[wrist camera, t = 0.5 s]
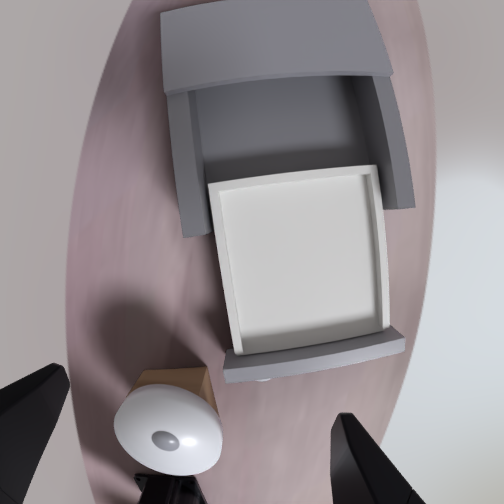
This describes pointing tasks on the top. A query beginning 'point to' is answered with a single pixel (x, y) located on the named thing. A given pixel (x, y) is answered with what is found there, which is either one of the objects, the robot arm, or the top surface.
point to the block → (181, 381)
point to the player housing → (278, 97)
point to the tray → (303, 271)
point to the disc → (169, 430)
